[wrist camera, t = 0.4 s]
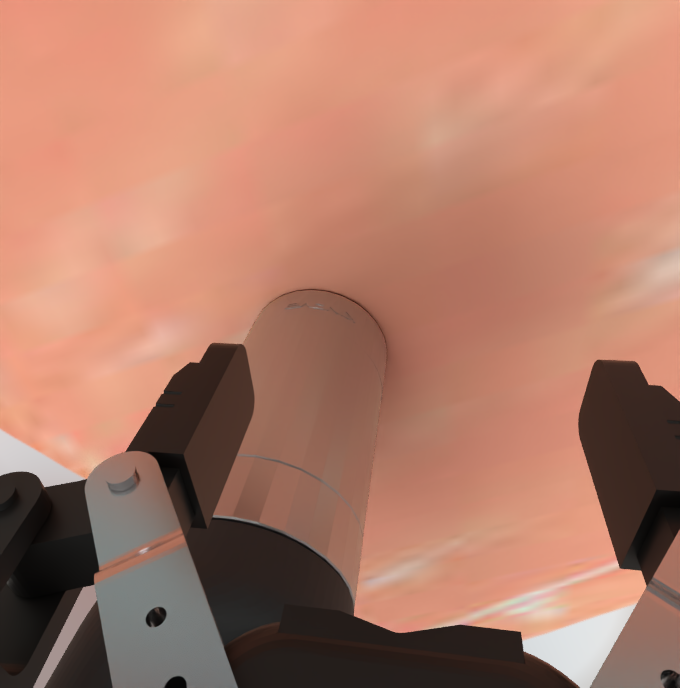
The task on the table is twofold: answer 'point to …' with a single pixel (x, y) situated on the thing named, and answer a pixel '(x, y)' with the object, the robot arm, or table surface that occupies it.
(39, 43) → the table surface
